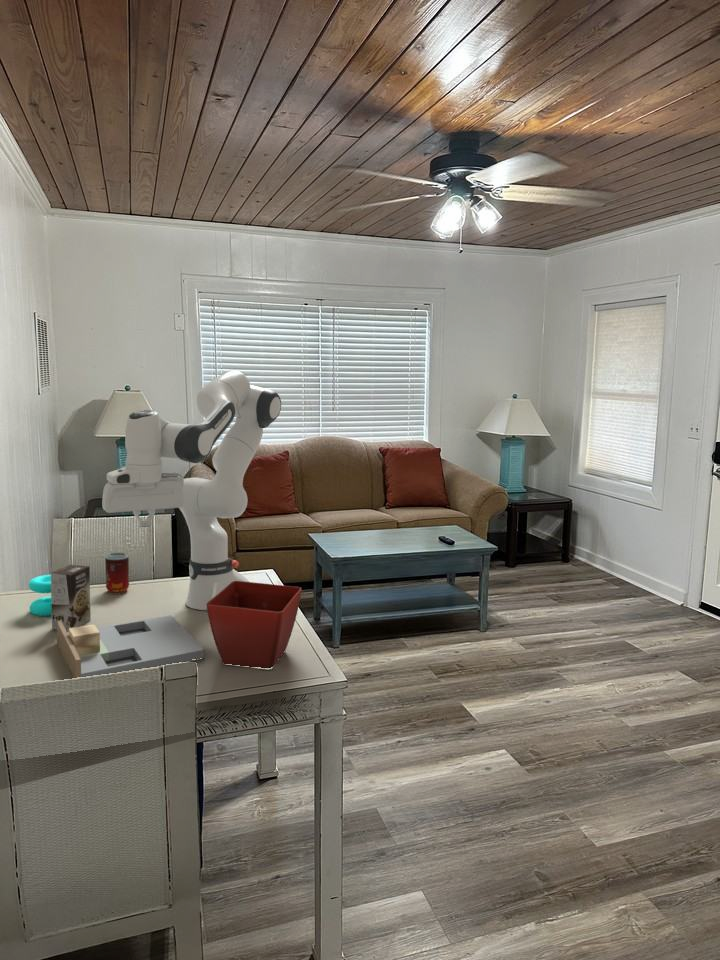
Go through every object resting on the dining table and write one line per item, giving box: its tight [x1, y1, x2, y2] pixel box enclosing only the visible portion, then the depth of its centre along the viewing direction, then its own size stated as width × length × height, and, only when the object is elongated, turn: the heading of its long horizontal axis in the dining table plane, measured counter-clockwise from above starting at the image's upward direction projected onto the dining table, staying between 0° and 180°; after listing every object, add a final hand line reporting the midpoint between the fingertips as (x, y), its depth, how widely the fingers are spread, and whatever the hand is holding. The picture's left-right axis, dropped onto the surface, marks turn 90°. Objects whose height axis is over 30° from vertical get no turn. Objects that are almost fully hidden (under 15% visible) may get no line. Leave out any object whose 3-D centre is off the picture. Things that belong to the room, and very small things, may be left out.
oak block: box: [68, 624, 100, 655], centre depth 164 cm, size 6×6×5 cm
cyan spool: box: [28, 574, 52, 617], centre depth 195 cm, size 10×10×10 cm
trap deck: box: [56, 614, 205, 679], centre depth 170 cm, size 30×27×6 cm
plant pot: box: [206, 581, 302, 668], centre depth 168 cm, size 19×19×17 cm
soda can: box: [104, 552, 130, 595], centre depth 214 cm, size 7×7×12 cm
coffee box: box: [50, 564, 92, 632], centre depth 185 cm, size 9×6×16 cm
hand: (144, 526), depth 173 cm, fingers closed
